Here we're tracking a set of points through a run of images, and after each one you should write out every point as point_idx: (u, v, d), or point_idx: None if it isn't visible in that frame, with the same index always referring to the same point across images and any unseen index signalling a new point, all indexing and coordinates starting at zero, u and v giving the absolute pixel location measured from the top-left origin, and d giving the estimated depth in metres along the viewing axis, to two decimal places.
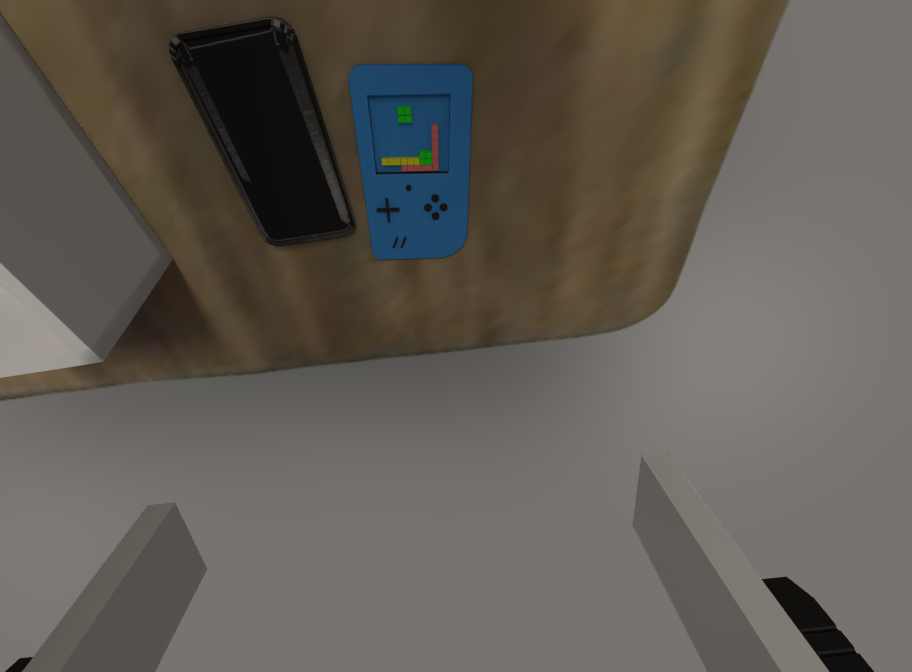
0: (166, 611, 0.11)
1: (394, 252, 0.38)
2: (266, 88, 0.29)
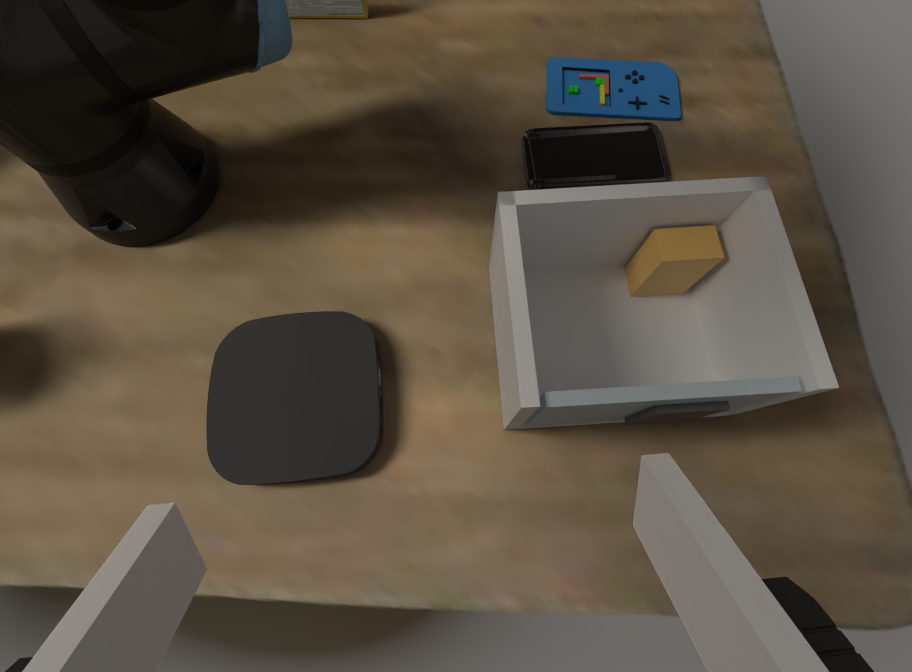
0: (166, 611, 0.11)
1: (674, 104, 0.50)
2: (557, 149, 0.48)
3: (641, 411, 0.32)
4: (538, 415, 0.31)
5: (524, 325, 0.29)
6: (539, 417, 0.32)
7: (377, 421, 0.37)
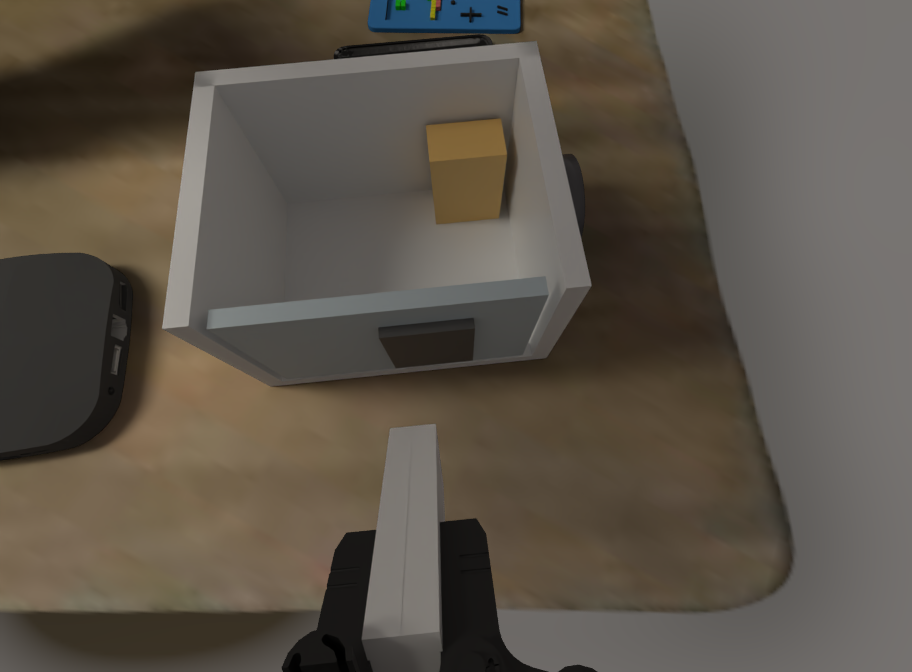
0: None
1: (513, 15, 0.43)
2: None
3: None
4: (243, 351, 0.24)
5: (191, 226, 0.22)
6: (257, 356, 0.25)
7: (98, 379, 0.30)
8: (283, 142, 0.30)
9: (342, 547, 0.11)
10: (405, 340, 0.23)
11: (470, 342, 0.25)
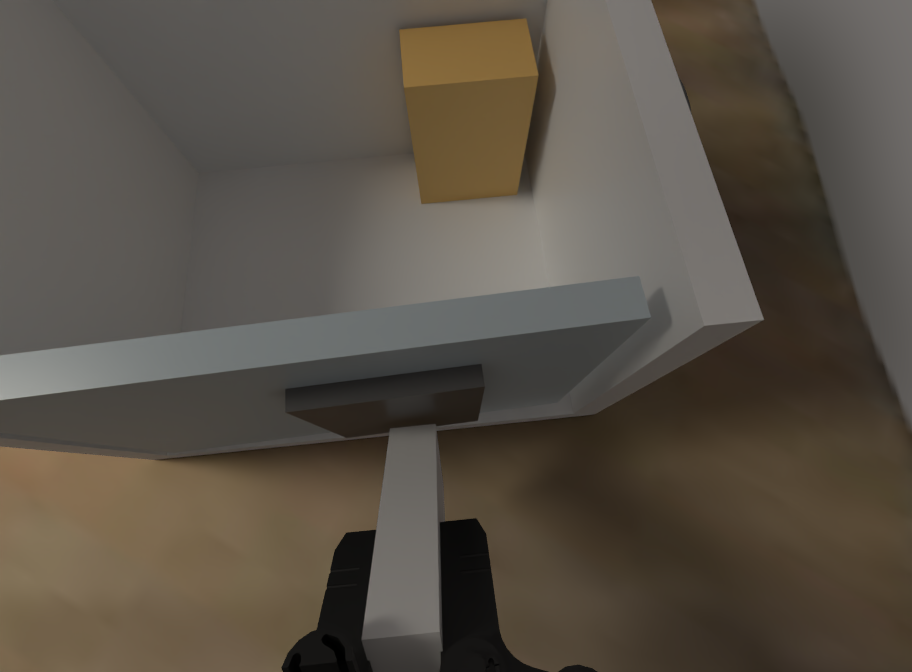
0: None
1: None
2: None
3: None
4: None
5: None
6: (75, 438, 0.13)
7: None
8: (162, 60, 0.18)
9: (342, 547, 0.11)
10: (345, 410, 0.12)
11: (474, 403, 0.13)
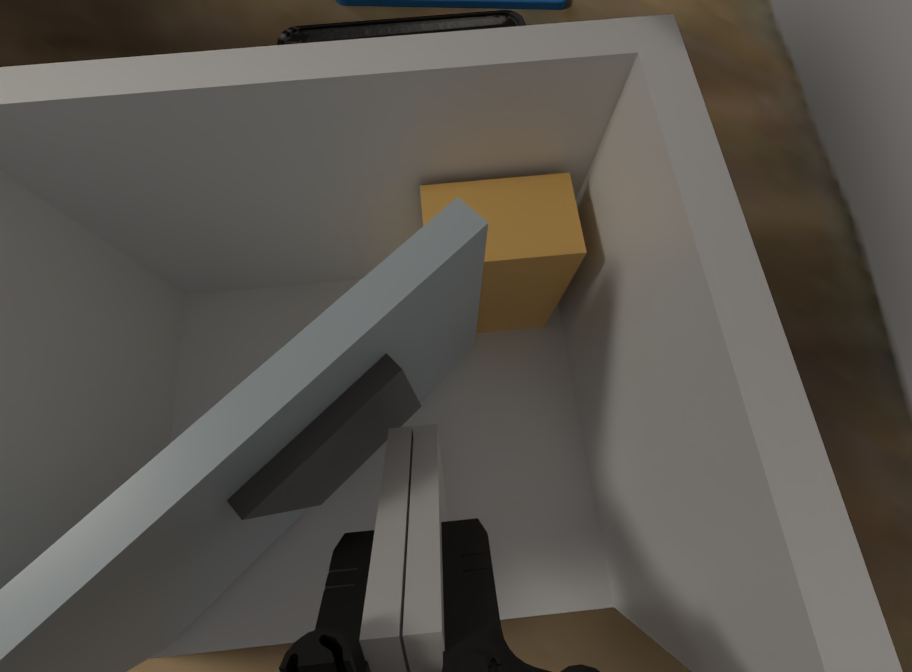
0: None
1: None
2: None
3: None
4: None
5: None
6: None
7: None
8: (138, 214, 0.15)
9: (340, 547, 0.11)
10: (298, 478, 0.11)
11: (406, 391, 0.13)
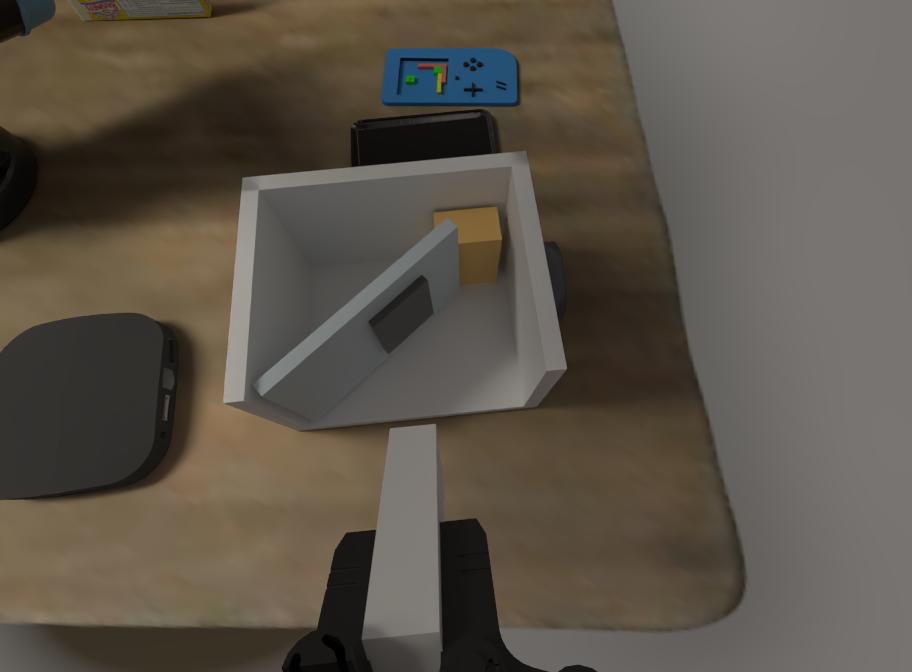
0: None
1: (510, 89, 0.48)
2: (385, 139, 0.46)
3: (375, 334, 0.32)
4: (286, 406, 0.29)
5: (243, 315, 0.27)
6: (295, 407, 0.30)
7: (153, 426, 0.35)
8: (312, 225, 0.35)
9: (342, 547, 0.11)
10: (389, 319, 0.30)
11: (428, 295, 0.33)
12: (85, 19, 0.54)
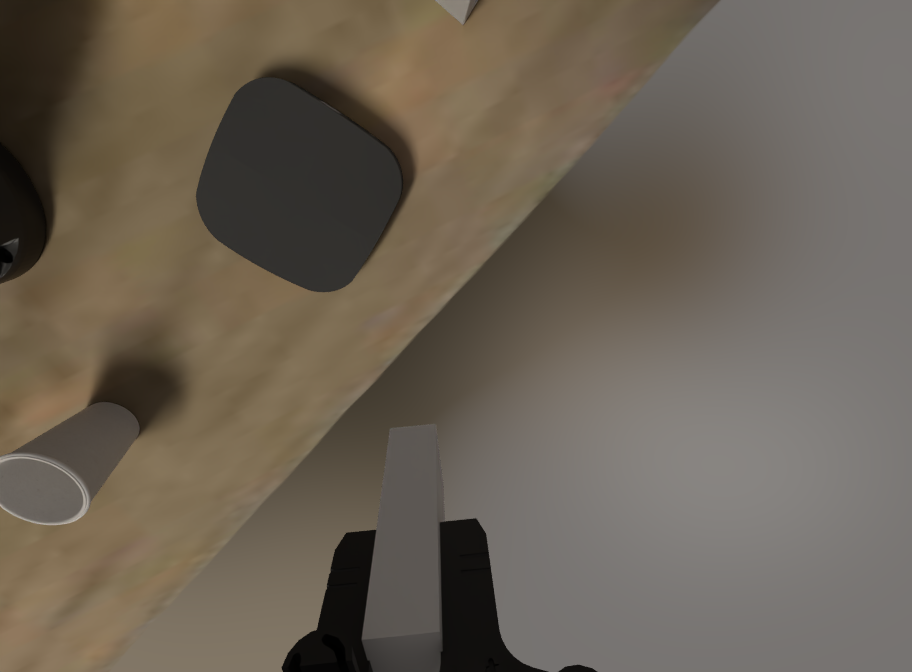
0: None
1: None
2: None
3: None
4: None
5: None
6: None
7: (374, 140, 0.35)
8: None
9: (342, 546, 0.11)
10: None
11: None
12: None
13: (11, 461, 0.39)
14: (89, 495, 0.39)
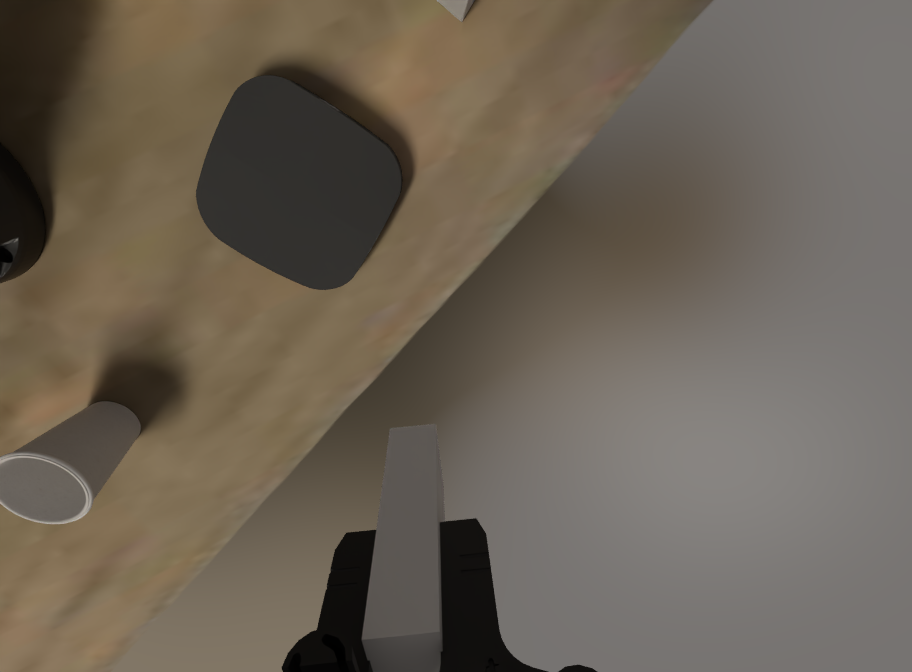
0: None
1: None
2: None
3: None
4: None
5: None
6: None
7: (373, 138, 0.35)
8: None
9: (342, 546, 0.11)
10: None
11: None
12: None
13: (13, 461, 0.39)
14: (92, 494, 0.39)
